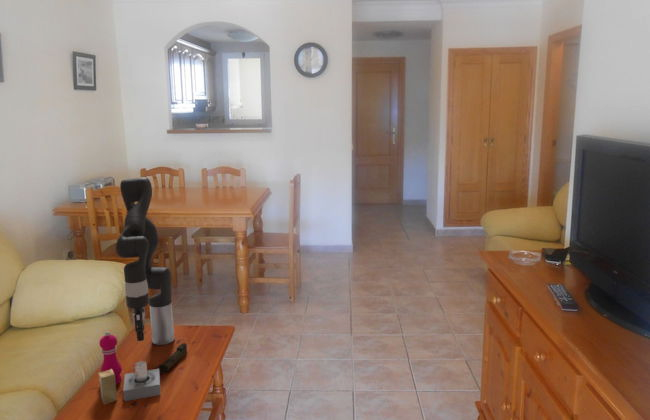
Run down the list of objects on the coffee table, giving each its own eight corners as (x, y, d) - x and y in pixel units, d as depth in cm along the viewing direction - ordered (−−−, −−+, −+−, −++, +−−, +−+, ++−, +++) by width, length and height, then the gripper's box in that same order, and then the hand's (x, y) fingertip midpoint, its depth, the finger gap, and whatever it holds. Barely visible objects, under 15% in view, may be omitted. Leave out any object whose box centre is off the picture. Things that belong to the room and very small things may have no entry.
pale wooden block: (101, 398, 176) (98, 372, 174) (114, 394, 179) (112, 368, 177) (103, 404, 173) (100, 378, 171) (117, 400, 175) (114, 374, 173)
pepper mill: (127, 378, 190) (122, 328, 186) (113, 388, 183) (108, 337, 179) (111, 375, 192) (106, 326, 188) (97, 385, 185) (91, 334, 181)
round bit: (137, 387, 183) (134, 362, 181) (148, 385, 184) (146, 360, 183) (136, 393, 179) (134, 367, 178) (148, 391, 181) (146, 365, 179)
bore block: (125, 384, 186) (124, 374, 185) (159, 378, 189) (159, 368, 189) (124, 401, 174) (123, 390, 174) (160, 394, 178) (159, 384, 177)
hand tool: (167, 374, 192) (166, 363, 191) (158, 373, 193) (157, 362, 192) (192, 352, 210) (192, 342, 209) (184, 351, 211) (183, 340, 210)
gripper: (126, 286, 181) (130, 328, 185) (124, 300, 168) (128, 345, 171) (148, 284, 184) (152, 325, 187) (148, 298, 170) (152, 342, 174)
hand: (141, 335), depth 179 cm, fingers open, 8 cm apart
